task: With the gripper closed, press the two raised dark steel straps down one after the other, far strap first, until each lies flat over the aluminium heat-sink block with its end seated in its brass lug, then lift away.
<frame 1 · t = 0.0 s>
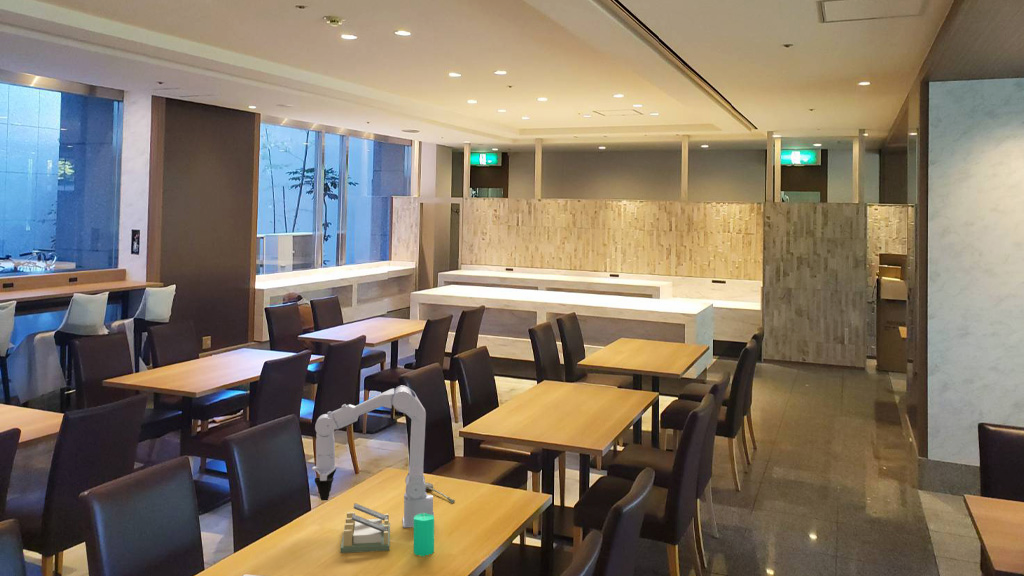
hand: (325, 495, 237), 10 cm above the table, tool pointing down, fingers open, 7 cm apart
strap far: (371, 512, 232), point 7 cm above the table, hinge at 25.0°
strap near: (370, 523, 223), point 7 cm above the table, hinge at 25.0°
soupspoon: (434, 496, 268), on the table
candle: (423, 552, 220), on the table
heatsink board: (366, 539, 228), on the table
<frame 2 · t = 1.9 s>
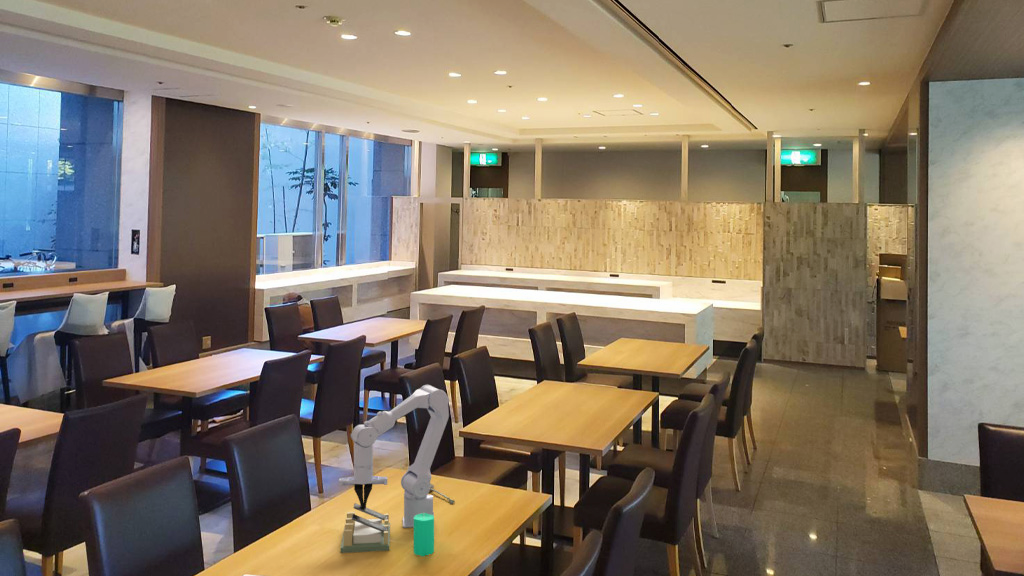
hand: (363, 507, 232), 8 cm above the table, tool pointing down, fingers closed
strap far: (371, 512, 232), point 7 cm above the table, hinge at 25.0°, touching gripper
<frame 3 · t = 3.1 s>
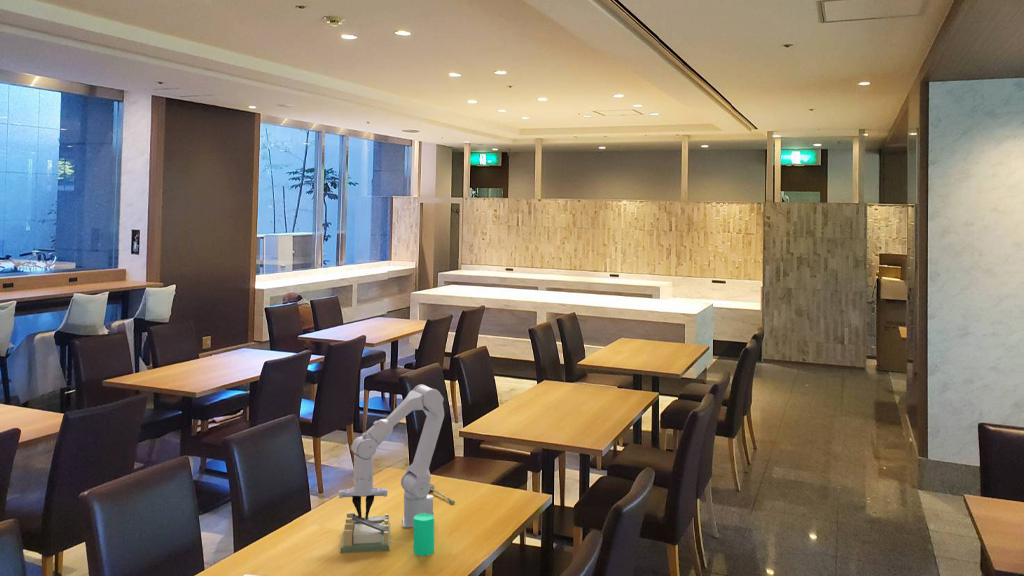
hand: (363, 519, 232), 5 cm above the table, tool pointing down, fingers closed on strap far
strap far: (369, 519, 232), point 4 cm above the table, hinge at -1.0°, touching gripper
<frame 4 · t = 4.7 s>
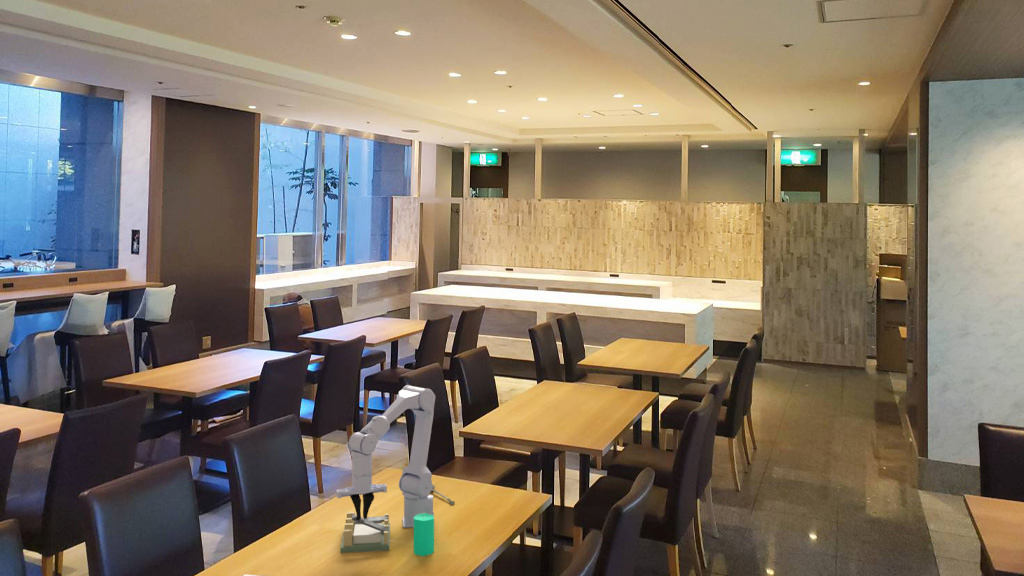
hand: (361, 518, 223), 9 cm above the table, tool pointing down, fingers closed
strap far: (369, 519, 232), point 4 cm above the table, hinge at -1.2°
strap near: (370, 523, 223), point 7 cm above the table, hinge at 24.6°, touching gripper
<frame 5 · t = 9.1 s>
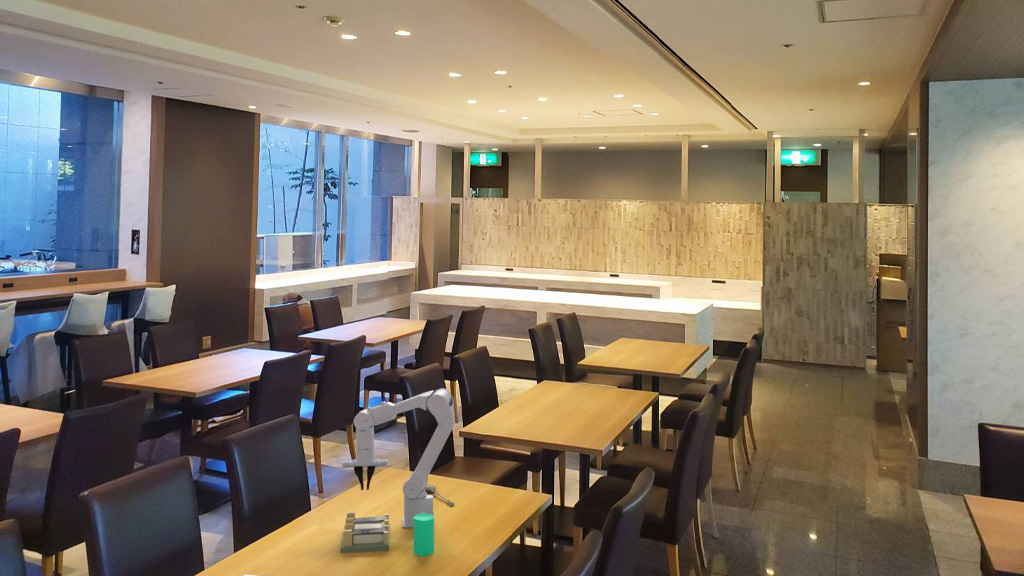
hand: (365, 488, 243), 10 cm above the table, tool pointing down, fingers closed
strap near: (367, 531, 224), point 4 cm above the table, hinge at -1.3°, touching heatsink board
soupspoon: (436, 498, 266), on the table
everything else where it was.
at the end: strap far at -1° (first picture: +25°); strap near at -1° (first picture: +25°) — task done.
